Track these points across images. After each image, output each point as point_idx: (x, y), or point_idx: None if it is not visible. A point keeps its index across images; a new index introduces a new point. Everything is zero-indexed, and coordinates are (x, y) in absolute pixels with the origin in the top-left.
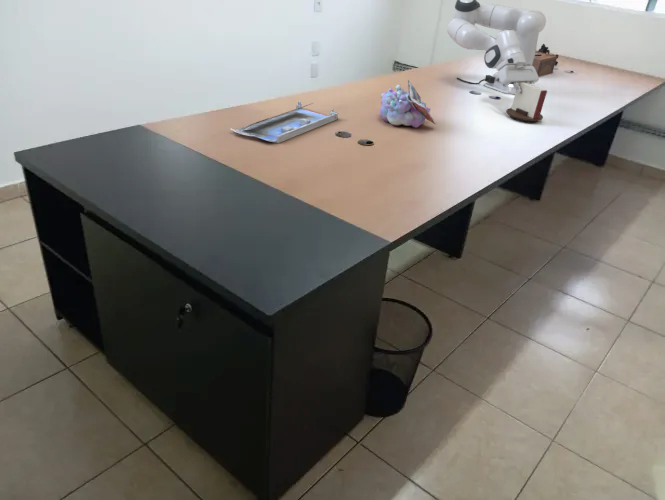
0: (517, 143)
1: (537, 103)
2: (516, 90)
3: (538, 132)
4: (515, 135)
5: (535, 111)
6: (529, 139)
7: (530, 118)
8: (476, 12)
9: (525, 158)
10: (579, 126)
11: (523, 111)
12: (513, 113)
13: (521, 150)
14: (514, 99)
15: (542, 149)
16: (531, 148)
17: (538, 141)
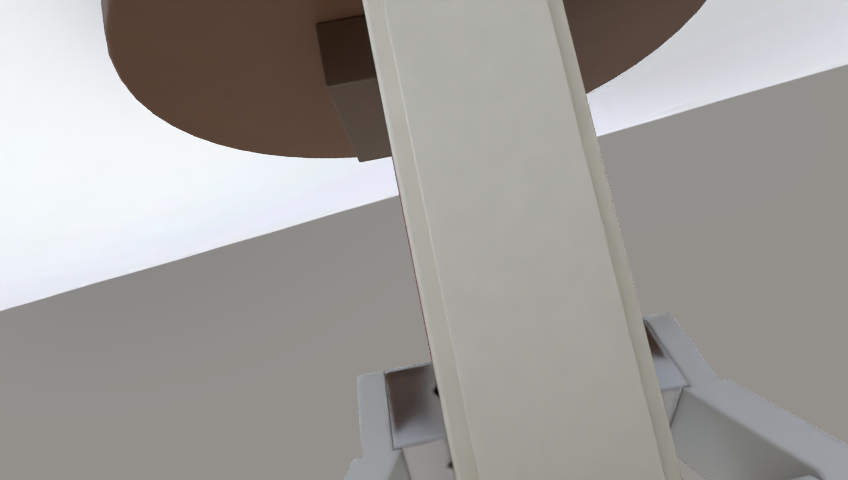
0: (49, 261)
1: (420, 302)
2: (444, 410)
3: (288, 182)
4: (66, 228)
5: (404, 219)
6: (152, 233)
7: (352, 153)
8: None
9: (51, 292)
10: (757, 81)
11: (352, 143)
12: (210, 88)
13: (51, 278)
14: (391, 146)
15: (171, 258)
16: (115, 264)
17: (198, 233)
